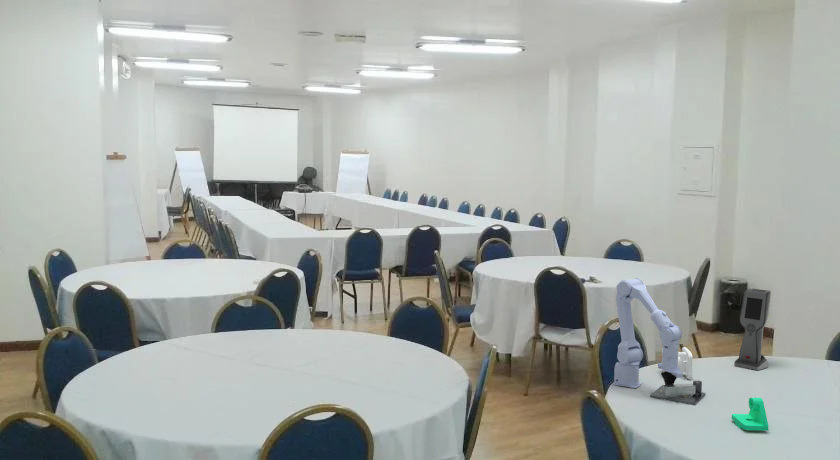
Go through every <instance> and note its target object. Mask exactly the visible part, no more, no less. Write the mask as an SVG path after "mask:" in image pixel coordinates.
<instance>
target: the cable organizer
mask: <svg viewBox="0 0 840 460" xmlns="http://www.w3.org/2000/svg"><path fill="white" fill-rule="evenodd" d="M661 353H662V356H663V348H661ZM662 356H661V357H662ZM693 360H694V359H693V354H692V352H691V351H690V350H689V349H688V348H687V347H686V346H683V347H682V348H681V351H678V367H679V368H680V370H679V371H680V372H681V373H682V376H685V378H687V379H688V380H691V379H692V378H693ZM664 372H665V371H663V370H662V373H664Z"/></svg>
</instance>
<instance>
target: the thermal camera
mask: <svg viewBox="0 0 840 460" xmlns="http://www.w3.org/2000/svg"><path fill="white" fill-rule="evenodd" d="M771 296H772V291H771V290H765V289H758V288H748V289H745V290H744V293H743V297H742V304H741V310H740V313H739V323H740V325H741V327H743V328H744V335H743V339H742V342H741V345H740V350H739V355H738V358H737V359H736V360H735V361H734V363H733V365H734V367H739V368H743V369H746V370H747V369H748V370H752V371H758V372H759V371H761V370H764V369H767V368H769V363H768V360H767V359H766V357H765V356H764V355H763V354H762V350H763V341H764V340H763V339H764V338H763V337H764V327H765V325H766V324H767V321H768V318H769V315H770V314H769V313H770V306H771V299H772V298H771Z"/></svg>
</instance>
